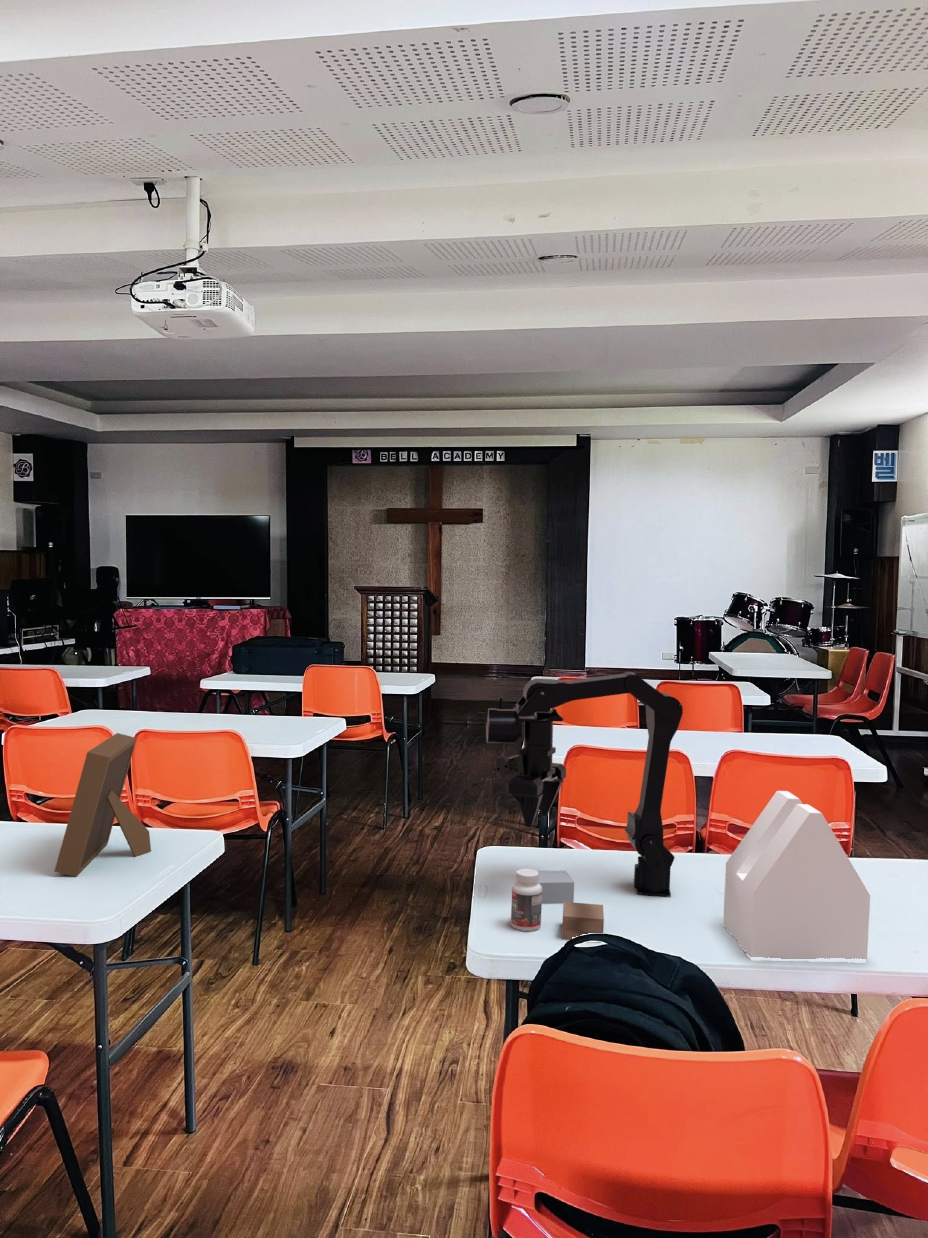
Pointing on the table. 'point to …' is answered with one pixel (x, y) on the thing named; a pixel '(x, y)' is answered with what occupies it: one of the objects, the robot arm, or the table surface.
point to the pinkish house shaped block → (795, 888)
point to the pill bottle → (526, 901)
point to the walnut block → (581, 919)
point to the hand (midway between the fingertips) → (536, 821)
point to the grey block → (556, 886)
